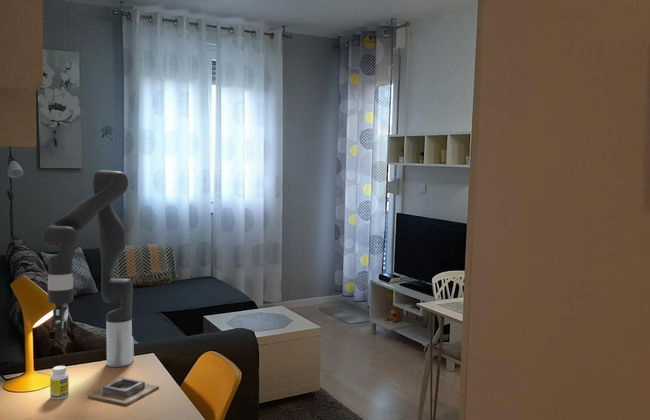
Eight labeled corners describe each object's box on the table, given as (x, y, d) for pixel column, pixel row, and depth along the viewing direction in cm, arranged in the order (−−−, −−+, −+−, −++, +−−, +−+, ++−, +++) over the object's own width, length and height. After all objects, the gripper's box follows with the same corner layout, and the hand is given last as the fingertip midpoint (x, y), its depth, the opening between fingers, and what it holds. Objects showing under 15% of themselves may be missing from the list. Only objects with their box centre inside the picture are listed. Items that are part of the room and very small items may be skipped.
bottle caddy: (122, 381, 196) (122, 372, 196) (158, 388, 191) (158, 379, 190) (87, 397, 182) (87, 388, 181) (126, 406, 176) (126, 396, 176)
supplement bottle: (61, 400, 179) (61, 371, 178) (46, 399, 180) (46, 369, 179) (72, 394, 184) (71, 365, 184) (57, 392, 185) (57, 364, 185)
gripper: (70, 290, 174) (70, 341, 175) (75, 282, 188) (76, 330, 188) (44, 292, 172) (44, 343, 173) (51, 283, 185) (51, 331, 186)
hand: (60, 336), depth 180 cm, fingers open, 8 cm apart
